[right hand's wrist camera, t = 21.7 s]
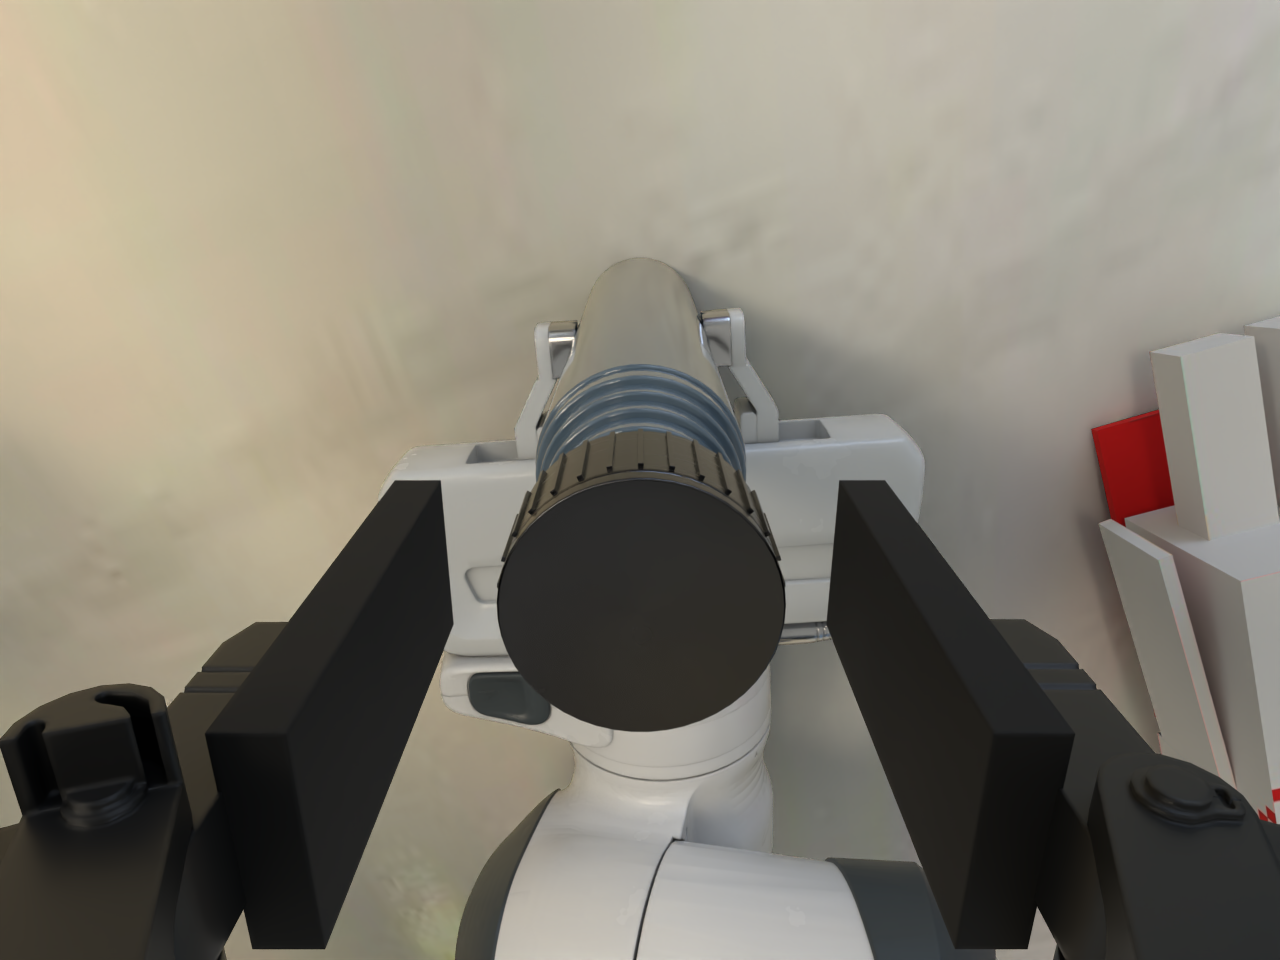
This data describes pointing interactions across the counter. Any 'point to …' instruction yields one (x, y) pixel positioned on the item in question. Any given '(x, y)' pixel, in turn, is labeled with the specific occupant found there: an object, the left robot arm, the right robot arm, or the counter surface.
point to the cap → (641, 584)
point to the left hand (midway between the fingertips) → (637, 317)
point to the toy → (1205, 553)
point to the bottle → (640, 369)
